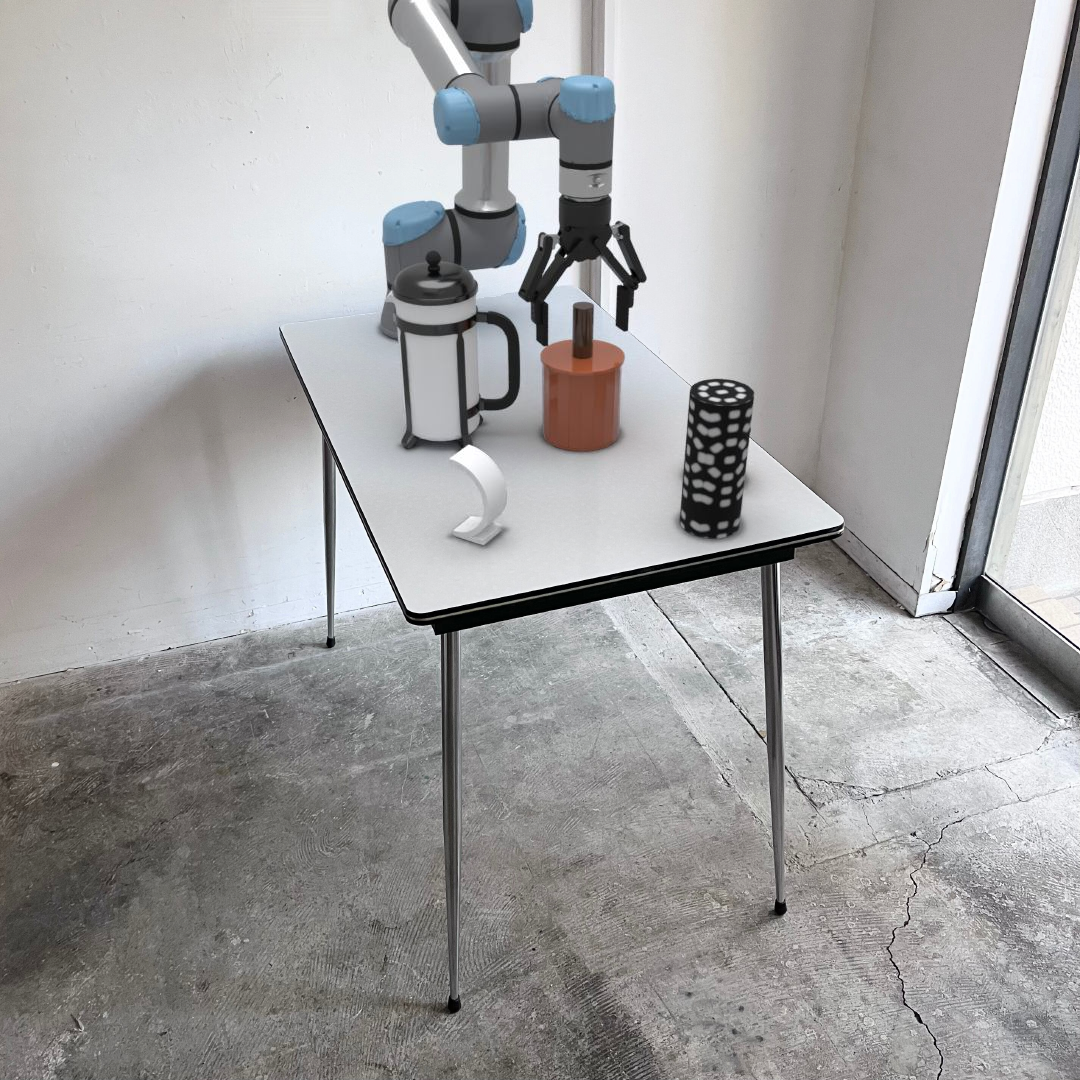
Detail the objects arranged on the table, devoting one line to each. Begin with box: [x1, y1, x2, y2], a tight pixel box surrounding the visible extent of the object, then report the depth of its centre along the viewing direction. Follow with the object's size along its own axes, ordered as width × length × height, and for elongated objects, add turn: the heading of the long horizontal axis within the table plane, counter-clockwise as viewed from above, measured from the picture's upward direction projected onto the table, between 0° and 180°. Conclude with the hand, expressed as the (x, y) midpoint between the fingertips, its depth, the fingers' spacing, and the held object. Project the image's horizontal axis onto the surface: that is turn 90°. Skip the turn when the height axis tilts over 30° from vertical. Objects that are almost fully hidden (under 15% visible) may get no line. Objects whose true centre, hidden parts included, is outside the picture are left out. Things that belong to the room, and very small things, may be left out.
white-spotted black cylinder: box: [679, 378, 755, 540], centre depth 147 cm, size 8×8×20 cm
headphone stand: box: [448, 445, 508, 546], centre depth 147 cm, size 5×6×12 cm
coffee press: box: [384, 251, 521, 450], centre depth 167 cm, size 17×16×30 cm
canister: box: [541, 363, 623, 452], centre depth 172 cm, size 12×12×13 cm
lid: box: [539, 301, 626, 376], centre depth 166 cm, size 13×13×9 cm
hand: (582, 335), depth 166 cm, fingers open, 13 cm apart
